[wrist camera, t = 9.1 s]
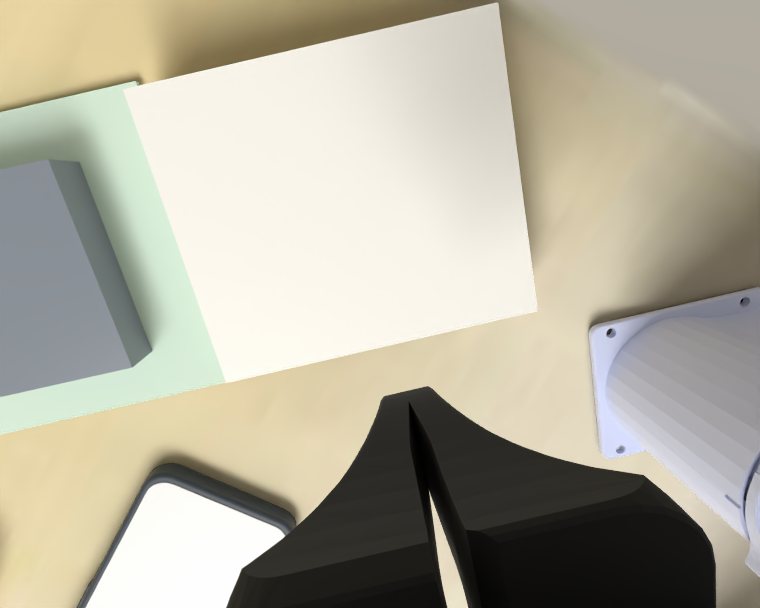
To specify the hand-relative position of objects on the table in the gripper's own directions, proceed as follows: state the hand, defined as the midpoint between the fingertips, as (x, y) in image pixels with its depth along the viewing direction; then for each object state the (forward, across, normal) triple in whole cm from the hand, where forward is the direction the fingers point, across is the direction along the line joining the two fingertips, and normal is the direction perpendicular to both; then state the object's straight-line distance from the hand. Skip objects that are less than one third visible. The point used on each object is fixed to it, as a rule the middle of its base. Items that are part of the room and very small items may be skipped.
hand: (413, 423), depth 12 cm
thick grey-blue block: (+8, +14, -6) cm, 17 cm away
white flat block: (+10, 0, -6) cm, 12 cm away
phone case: (+11, +16, +14) cm, 24 cm away
